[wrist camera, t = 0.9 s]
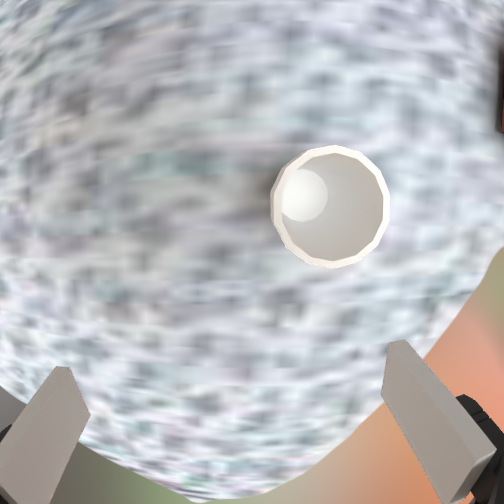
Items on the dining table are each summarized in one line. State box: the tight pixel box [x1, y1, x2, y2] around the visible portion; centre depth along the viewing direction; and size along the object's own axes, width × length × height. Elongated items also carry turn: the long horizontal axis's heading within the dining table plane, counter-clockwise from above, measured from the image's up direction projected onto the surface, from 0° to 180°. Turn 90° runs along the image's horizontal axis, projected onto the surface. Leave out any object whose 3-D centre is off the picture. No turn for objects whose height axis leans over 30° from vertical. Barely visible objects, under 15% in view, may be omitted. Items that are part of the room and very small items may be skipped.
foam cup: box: [270, 145, 390, 269], centre depth 30 cm, size 10×9×13 cm
